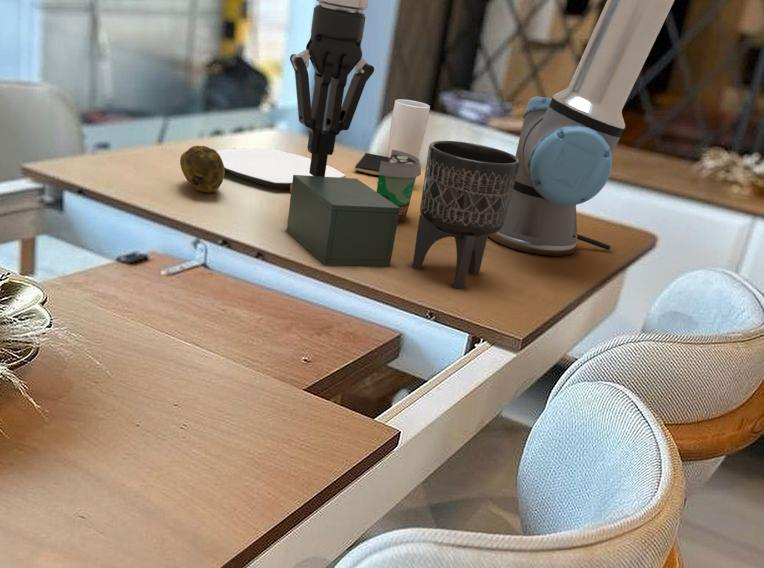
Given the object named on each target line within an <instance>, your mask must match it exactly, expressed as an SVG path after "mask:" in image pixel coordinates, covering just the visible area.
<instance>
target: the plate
mask: <svg viewBox="0 0 764 568" xmlns="http://www.w3.org/2000/svg"><path fill="white" fill-rule="evenodd" d="M216 152H217V153H218V154H219V155H220V157H221V159H222V162H223V164H224V169H225V171H227V172H228V173H230V174H232V175H234V176H236V177H238V178H241V179H243V180H246V181H248V182H252V183H256V184H258V185H262V186H266V187H268V188H269V187H270V188H272V189H273V188H275V189H290V186H291V184H292V181H293V175H305V176H313V175H311V174H310V173H309V171H310V164H311V158H309V157H307V156H302V155H299V154H295V153H291V152H287V151H283V150H279V149H277V148H226V149H221V150H220V149H219V150H216ZM325 177H339V178H347V175H346V174H345V173H343V172H341V171H340V170H338V169H336V168H334V167H332V166H330V165H327V164H326V171H325Z"/></svg>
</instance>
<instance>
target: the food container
mask: <svg viewBox="0 0 764 568" xmlns="http://www.w3.org/2000/svg"><path fill="white" fill-rule="evenodd" d="M420 161H421V160H420V158H419V159H418V158H417V157H415V156H413V155H411V154H408V153H405V152H401V151H397V150H392V153H391V157H390V158H387V160H386V161H385V162H384V161H381V164H380V169H379V174H378V175H377V176H378V179H377V186H376V192H377V193H379V194H380V195H382V196H383V197H385V198H386V199H388V200H389V201H390V202H392V203H393V204H395V205H396V206H398V207H399V208H400V211H399V217H398V223H397V224H403V223H405V222H406V219H407V215H408V211H409V209H410V204H411V199H412V196H413V192H414V189H415V188H414V187H415V184H416V180H417V177H420V176H421V174H422V166H421V165H422V164H421V163H420Z"/></svg>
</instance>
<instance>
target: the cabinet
mask: <svg viewBox="0 0 764 568" xmlns="http://www.w3.org/2000/svg"><path fill="white" fill-rule="evenodd" d="M288 207H289V208H288V214H287V225H286V233H288V234H289V235H290V236H291V237H292V238H293V239H294V240H295V241H297V242H298V243H299V244H300V245H301V246H302V247H304V249H305V250H307V251H308V252H309V254H311V255H312V256H313V257H315V259H317V260H318V261H319V262H320V263H321V264H323V266H351V267H352V266H353V267H354V266H356V267H357V266H360V267H361V266H362V267H391V262H392V257H393V251H394V246H395V239H396V234H397V227H398V224H399V223H398V217H399V211H400V208H399V207H398V206H396V205H395V204H393V203H392V202H390V201H389V200H388V199H386V198H385V197H383V196H382V195H380V194H379V193H377V190H374V189H373V188H372V187H370V186H368V185H367V184H366V183H364V182H363V181H361V180H360V179H358V178H353V177H344V178H339V177H322V176H305V175H293V181H292V190H291V192H290V198H289V206H288Z"/></svg>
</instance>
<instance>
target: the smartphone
mask: <svg viewBox="0 0 764 568" xmlns="http://www.w3.org/2000/svg"><path fill="white" fill-rule="evenodd" d="M387 158H388V156H385V155H381V154H380V155H379V154H374V153H370V152H369V153H368V152H365V153H364V155H363V156H362V158H361V159H360V160H359V161H358V162H357V164H356V165H355V166H354V170H356V171H359V172H362V173H365V174H369V175H373V176H379V175H378V174H379V169H380V164H381V161H384V162H385V161H386V160H387Z"/></svg>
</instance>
